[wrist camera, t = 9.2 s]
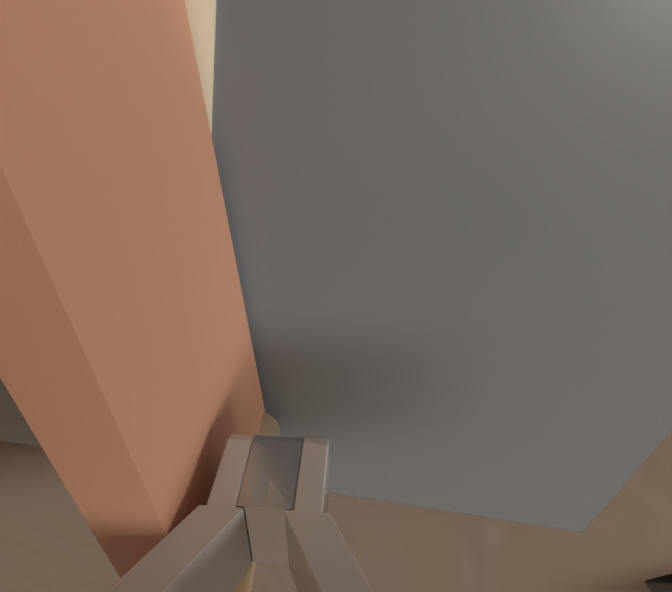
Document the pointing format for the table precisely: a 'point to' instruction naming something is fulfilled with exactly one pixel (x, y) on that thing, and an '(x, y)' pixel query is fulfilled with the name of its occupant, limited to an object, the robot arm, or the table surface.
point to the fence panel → (119, 265)
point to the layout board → (451, 240)
